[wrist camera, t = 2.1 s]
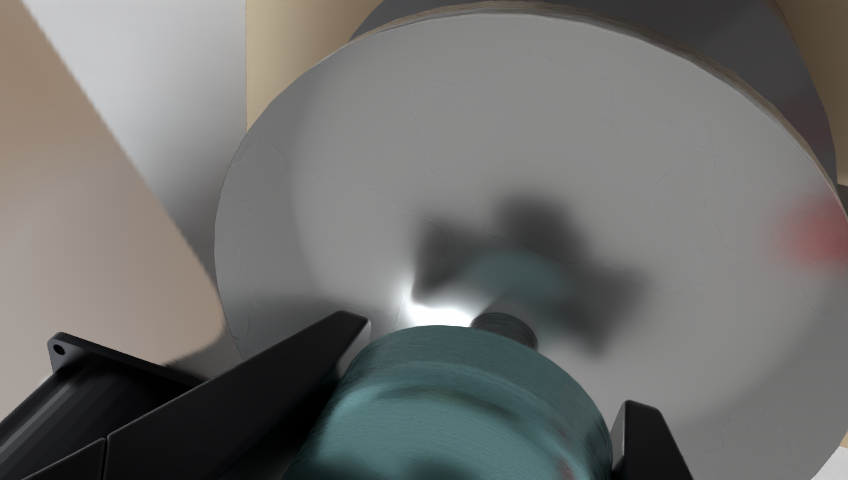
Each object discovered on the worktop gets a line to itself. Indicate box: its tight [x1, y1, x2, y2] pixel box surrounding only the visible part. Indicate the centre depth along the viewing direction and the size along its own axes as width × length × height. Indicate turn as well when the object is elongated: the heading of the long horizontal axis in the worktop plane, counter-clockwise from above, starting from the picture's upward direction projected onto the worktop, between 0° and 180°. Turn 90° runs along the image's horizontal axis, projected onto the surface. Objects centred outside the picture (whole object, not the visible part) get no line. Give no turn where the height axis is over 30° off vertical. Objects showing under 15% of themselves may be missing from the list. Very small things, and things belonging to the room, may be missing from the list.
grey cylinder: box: [348, 0, 848, 217], centre depth 14 cm, size 12×9×4 cm
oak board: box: [246, 0, 848, 448], centre depth 16 cm, size 18×13×1 cm
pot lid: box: [214, 1, 848, 480], centre depth 8 cm, size 9×9×4 cm
